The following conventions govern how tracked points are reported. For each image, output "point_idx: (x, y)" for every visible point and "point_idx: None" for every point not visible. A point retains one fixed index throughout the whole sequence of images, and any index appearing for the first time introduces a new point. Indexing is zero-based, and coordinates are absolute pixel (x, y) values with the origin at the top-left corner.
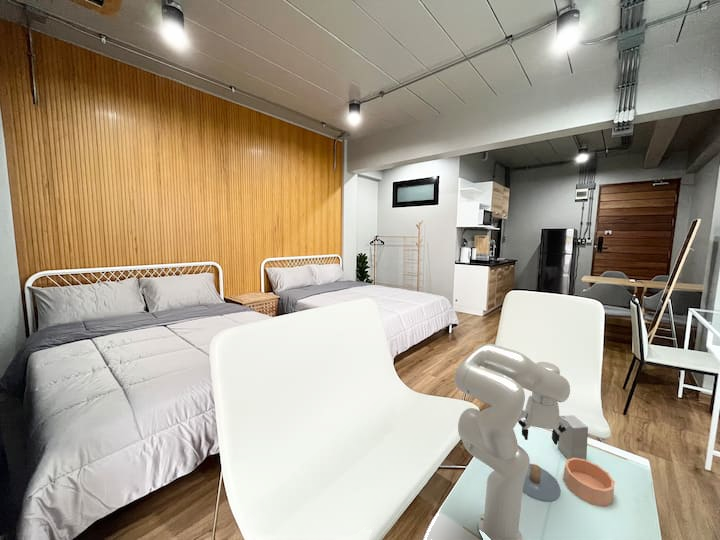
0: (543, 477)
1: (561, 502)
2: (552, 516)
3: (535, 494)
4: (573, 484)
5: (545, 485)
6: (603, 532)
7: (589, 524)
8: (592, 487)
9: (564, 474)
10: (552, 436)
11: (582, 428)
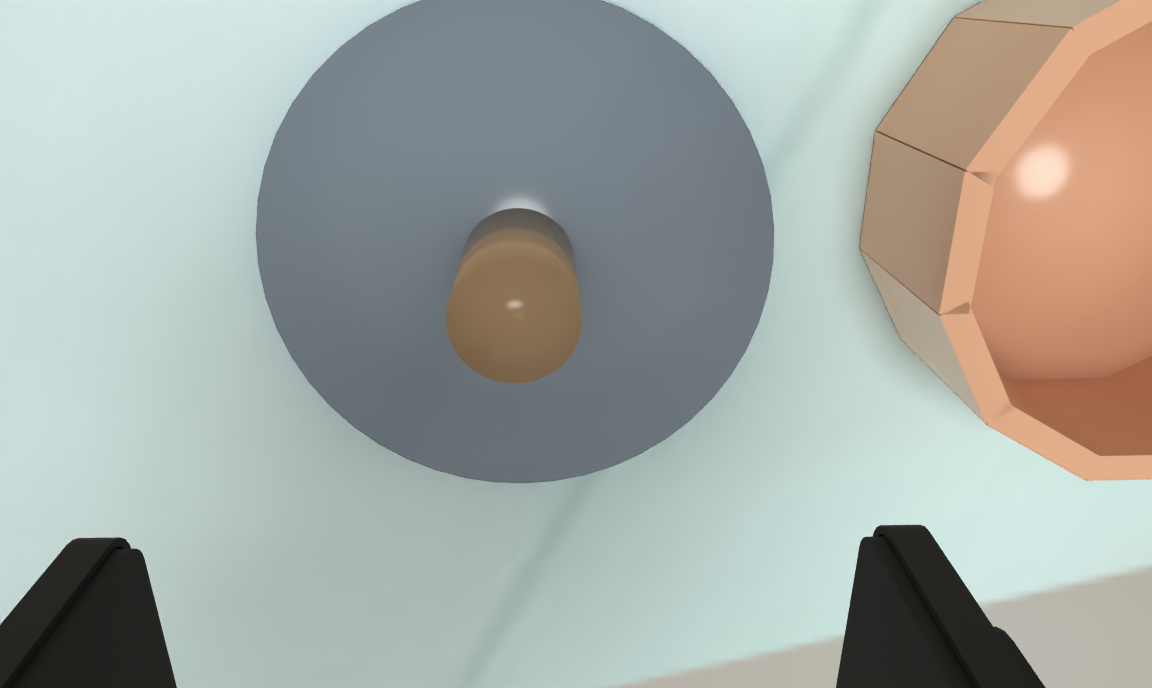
0: (636, 198)
1: (704, 440)
2: (563, 588)
3: (471, 452)
4: (919, 328)
5: (616, 312)
6: None
7: (837, 580)
8: (1089, 466)
9: (905, 163)
10: (892, 630)
11: None
